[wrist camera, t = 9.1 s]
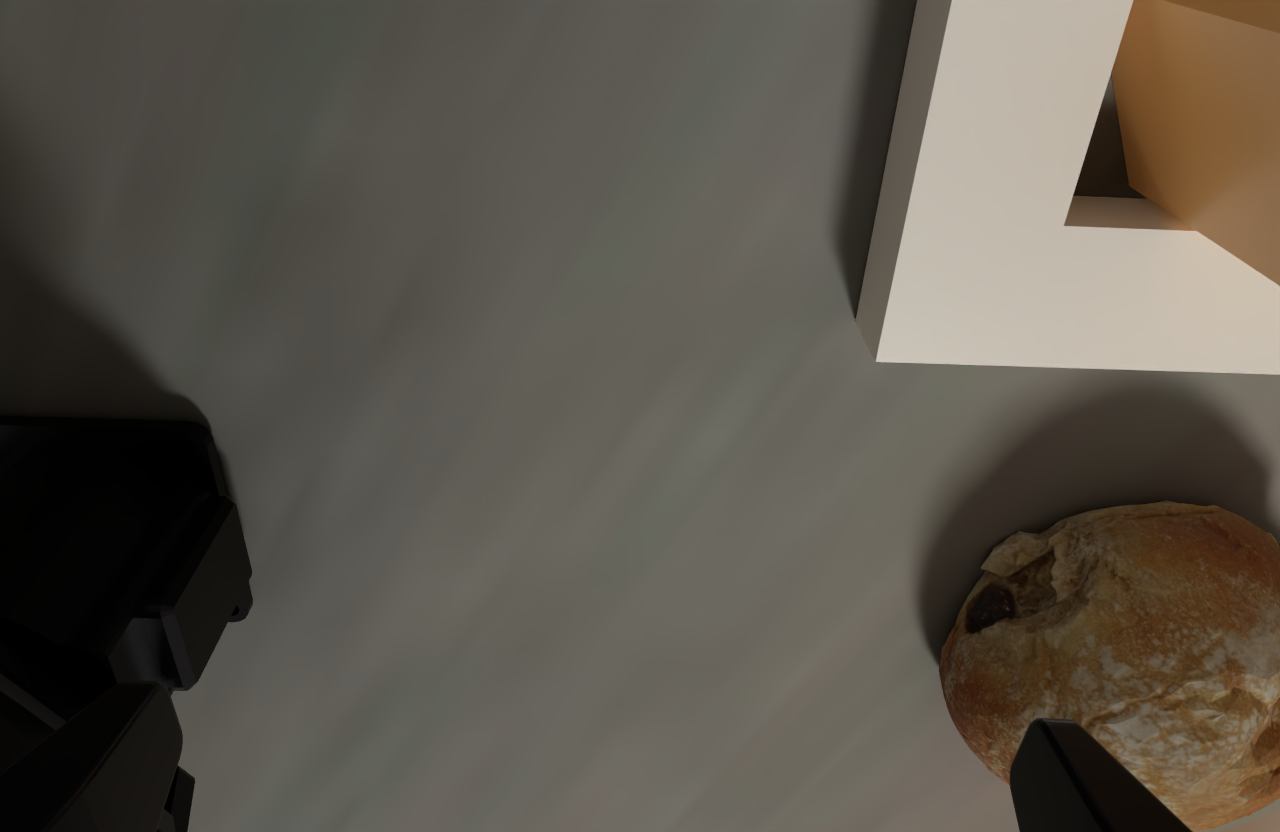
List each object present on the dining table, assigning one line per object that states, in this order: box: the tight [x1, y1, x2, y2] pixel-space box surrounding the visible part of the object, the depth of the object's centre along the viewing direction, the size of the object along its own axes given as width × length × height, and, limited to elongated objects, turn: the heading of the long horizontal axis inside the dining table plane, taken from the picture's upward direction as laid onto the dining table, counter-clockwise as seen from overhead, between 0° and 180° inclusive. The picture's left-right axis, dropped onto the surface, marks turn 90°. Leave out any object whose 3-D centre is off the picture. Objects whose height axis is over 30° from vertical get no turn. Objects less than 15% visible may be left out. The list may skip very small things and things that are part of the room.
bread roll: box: [939, 500, 1280, 831], centre depth 25 cm, size 10×10×8 cm
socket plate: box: [855, 0, 1280, 374], centre depth 17 cm, size 13×13×3 cm
